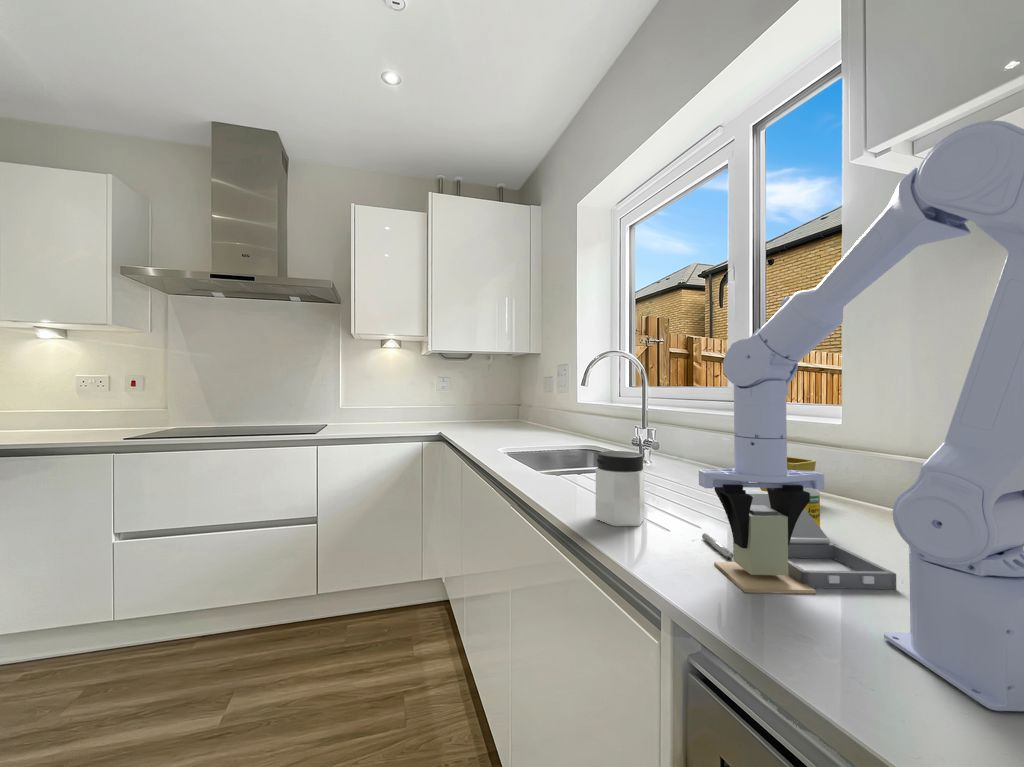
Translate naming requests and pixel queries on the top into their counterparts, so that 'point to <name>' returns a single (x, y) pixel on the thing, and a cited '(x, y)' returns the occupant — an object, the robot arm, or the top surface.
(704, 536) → the rod
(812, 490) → the supplement bottle
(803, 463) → the flower pot
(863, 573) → the case
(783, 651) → the top surface
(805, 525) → the lid
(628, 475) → the jar
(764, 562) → the block
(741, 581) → the mat
